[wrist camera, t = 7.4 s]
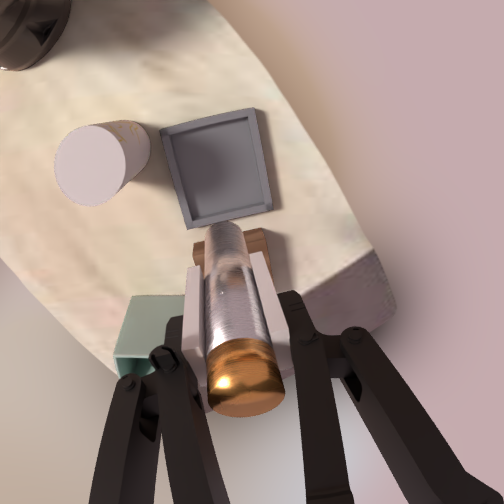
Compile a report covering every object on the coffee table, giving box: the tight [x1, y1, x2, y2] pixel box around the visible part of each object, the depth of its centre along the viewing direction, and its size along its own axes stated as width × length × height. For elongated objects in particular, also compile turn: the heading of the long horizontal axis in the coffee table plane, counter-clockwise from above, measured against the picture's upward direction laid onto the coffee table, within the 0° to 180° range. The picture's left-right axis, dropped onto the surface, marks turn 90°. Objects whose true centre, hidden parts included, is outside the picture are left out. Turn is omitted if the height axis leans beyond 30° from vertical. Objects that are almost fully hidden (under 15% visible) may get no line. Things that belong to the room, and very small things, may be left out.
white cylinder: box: [54, 120, 151, 206], centre depth 29 cm, size 8×8×12 cm
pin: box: [205, 221, 285, 417], centre depth 16 cm, size 3×3×14 cm
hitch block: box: [193, 228, 275, 288], centre depth 43 cm, size 10×10×4 cm
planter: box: [113, 295, 185, 379], centre depth 38 cm, size 16×8×20 cm, turn 131°
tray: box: [160, 107, 273, 230], centre depth 37 cm, size 14×12×2 cm
